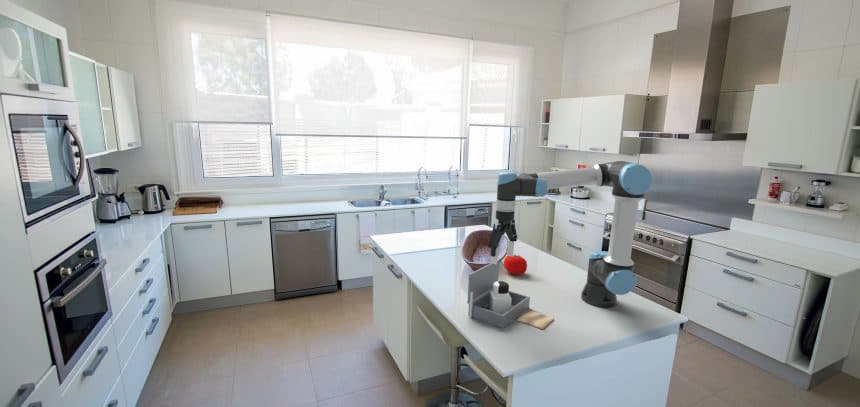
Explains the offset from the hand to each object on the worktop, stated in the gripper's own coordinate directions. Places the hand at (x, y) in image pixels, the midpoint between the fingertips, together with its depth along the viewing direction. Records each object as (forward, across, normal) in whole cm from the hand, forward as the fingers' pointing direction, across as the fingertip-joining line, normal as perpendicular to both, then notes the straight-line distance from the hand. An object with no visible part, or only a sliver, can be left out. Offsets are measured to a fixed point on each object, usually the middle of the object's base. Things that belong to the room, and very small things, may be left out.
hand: (502, 259), depth 164 cm
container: (+23, +1, +1) cm, 23 cm away
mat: (+23, -3, +16) cm, 28 cm away
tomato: (+23, -45, -16) cm, 53 cm away
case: (+23, +1, +1) cm, 23 cm away
